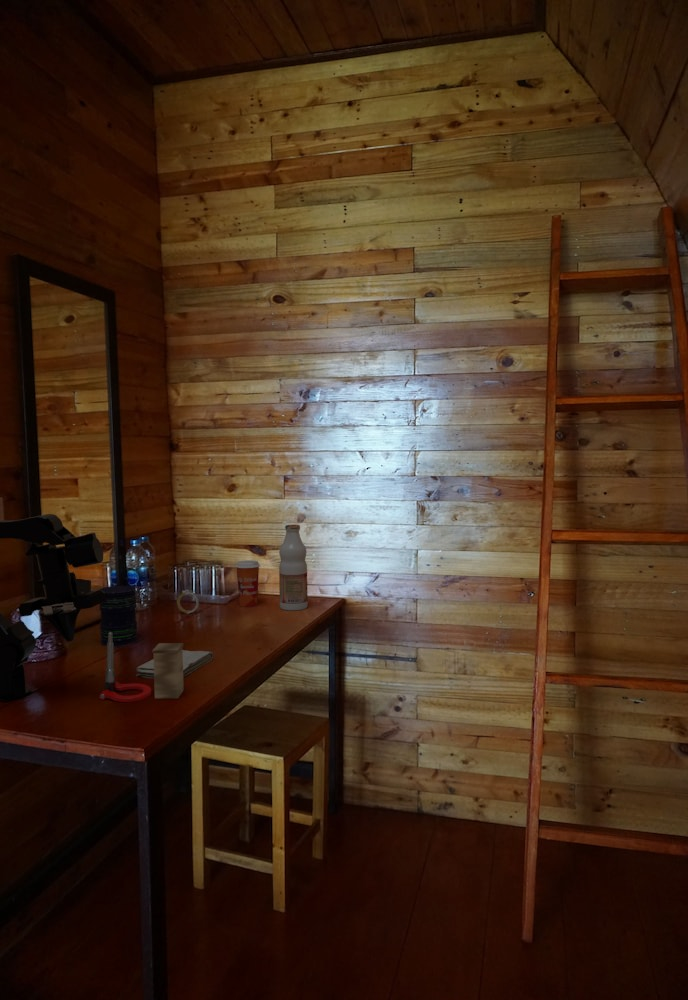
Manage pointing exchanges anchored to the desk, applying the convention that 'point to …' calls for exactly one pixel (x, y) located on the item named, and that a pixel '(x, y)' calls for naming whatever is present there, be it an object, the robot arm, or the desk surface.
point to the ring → (183, 595)
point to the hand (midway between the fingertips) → (70, 641)
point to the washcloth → (190, 663)
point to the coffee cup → (248, 582)
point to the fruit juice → (293, 571)
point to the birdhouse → (168, 670)
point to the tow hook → (113, 686)
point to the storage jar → (119, 615)
